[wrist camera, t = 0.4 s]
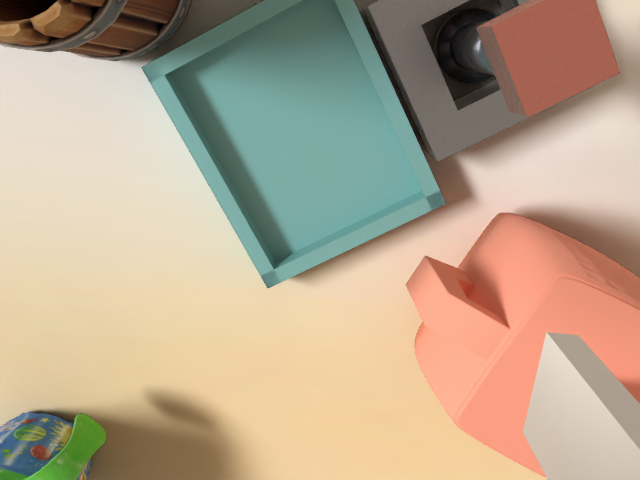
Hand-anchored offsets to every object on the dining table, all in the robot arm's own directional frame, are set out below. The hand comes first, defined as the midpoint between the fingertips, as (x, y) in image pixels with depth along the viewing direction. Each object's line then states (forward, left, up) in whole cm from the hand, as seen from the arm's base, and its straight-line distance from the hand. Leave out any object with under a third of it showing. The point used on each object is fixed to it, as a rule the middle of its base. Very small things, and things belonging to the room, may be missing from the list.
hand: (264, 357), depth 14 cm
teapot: (+18, +10, -28) cm, 35 cm away
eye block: (-1, +13, -28) cm, 31 cm away
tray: (-1, +1, -28) cm, 28 cm away
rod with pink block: (-1, +13, -28) cm, 31 cm away
